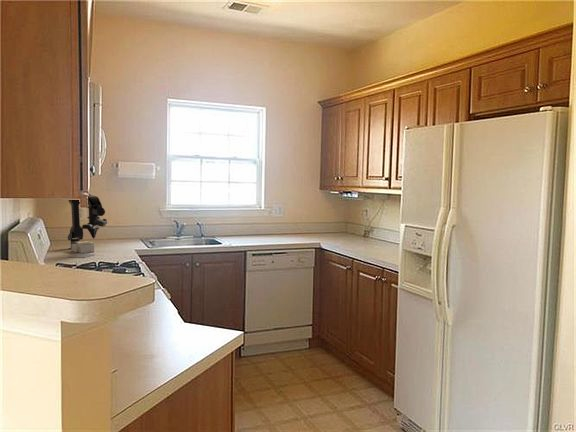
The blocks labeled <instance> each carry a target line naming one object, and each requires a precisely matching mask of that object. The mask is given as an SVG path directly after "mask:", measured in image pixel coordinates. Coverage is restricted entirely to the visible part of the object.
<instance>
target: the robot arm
mask: <svg viewBox="0 0 576 432" xmlns="http://www.w3.org/2000/svg"><path fill="white" fill-rule="evenodd" d="M68 203H69V204H70V205H71V206H70V207H71V228H70V229H69V233H68V235H67V240H68V241H70V243H71V242H75V241H83V238H84V230H88V232H89V235H90V236H91V238H92V239H95V238H96V235H97V233H98V231H99V230H100V227H102V228H103V227H106V224H108V219H107V218H102V219H101V217H103V216H104V215H105V214H106V210H105V208H104V207H103V205H102V202H101V200H100V198H99V197H98V196H96V195H92V194H90V193H89V196H88V204H87V206H86V207H87V209H88V216H87V219H88V223H84V224H82V225H81V222H80V204H81V202H79V200H68ZM68 249H69V250H71V247H69V248H68Z"/></svg>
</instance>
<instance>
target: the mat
mask: <svg viewBox="0 0 576 432" xmlns="http://www.w3.org/2000/svg"><path fill="white" fill-rule="evenodd" d="M95 255H96V254H95V253H75V254H72V255H68V256H67V258H74V259H75V258H78V259H79V258H83V259H85V258H89V257H93V256H95Z"/></svg>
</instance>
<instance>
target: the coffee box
mask: <svg viewBox="0 0 576 432" xmlns="http://www.w3.org/2000/svg"><path fill="white" fill-rule="evenodd" d="M70 248H71V249H70V251H72V252H75V253H77V254H90V253H94V252H95V242H91V241H87V240H80V241H75V242H71V241H70Z"/></svg>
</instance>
